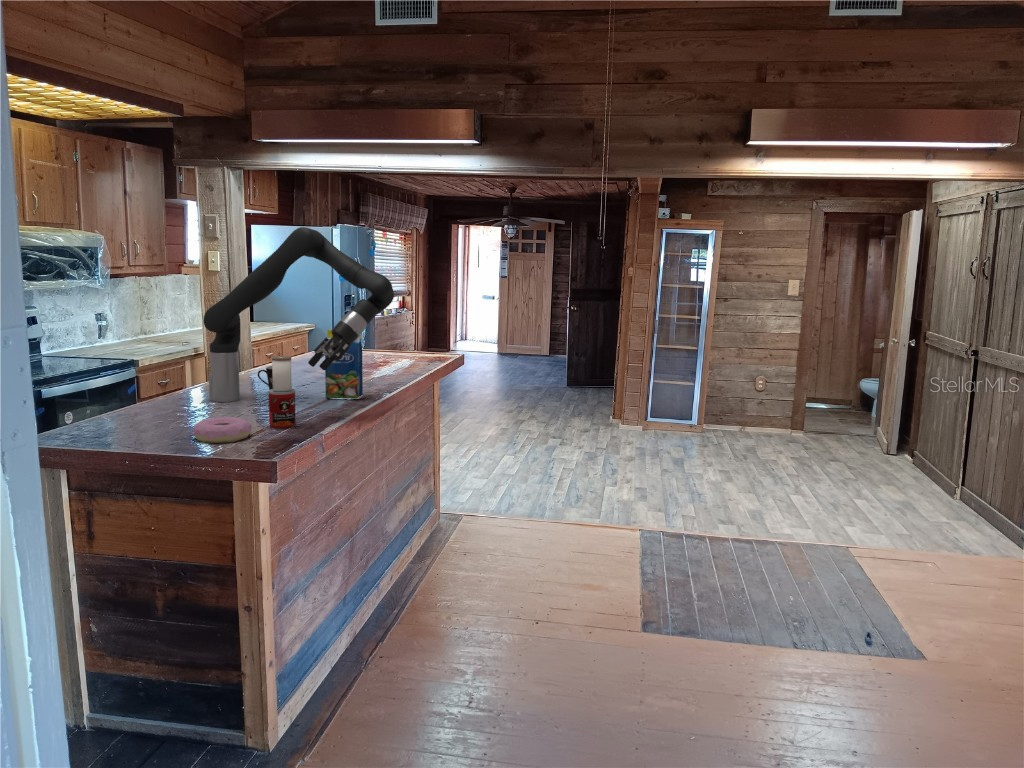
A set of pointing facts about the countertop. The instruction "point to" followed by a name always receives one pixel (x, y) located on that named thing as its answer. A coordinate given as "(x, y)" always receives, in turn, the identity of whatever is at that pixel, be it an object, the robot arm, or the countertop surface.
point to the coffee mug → (269, 376)
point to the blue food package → (345, 373)
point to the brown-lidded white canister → (281, 373)
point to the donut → (222, 429)
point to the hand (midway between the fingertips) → (315, 366)
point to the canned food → (282, 408)
